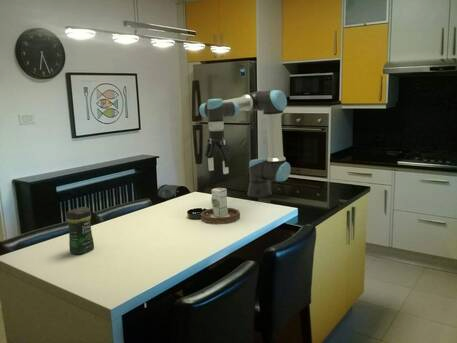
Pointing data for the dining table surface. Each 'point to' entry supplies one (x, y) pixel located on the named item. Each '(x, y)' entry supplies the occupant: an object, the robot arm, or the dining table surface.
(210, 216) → the round tray
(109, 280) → the dining table surface
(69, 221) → the coffee jar
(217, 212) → the syrup box
